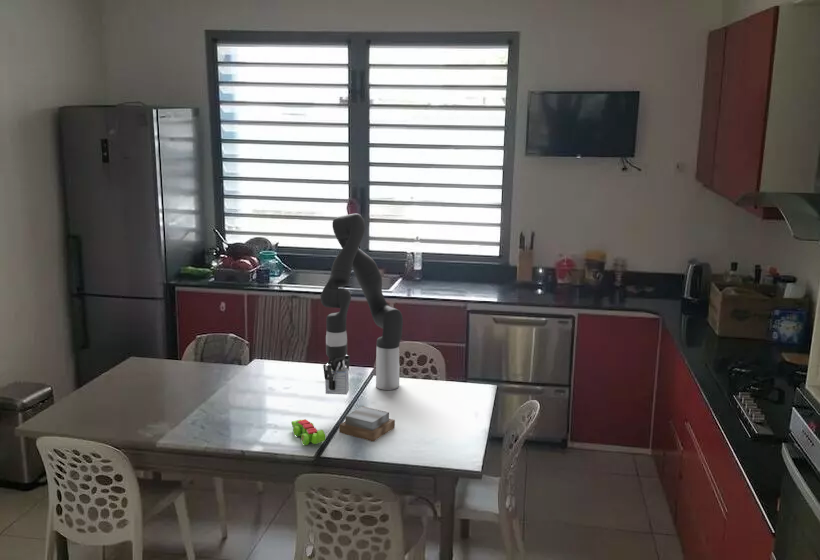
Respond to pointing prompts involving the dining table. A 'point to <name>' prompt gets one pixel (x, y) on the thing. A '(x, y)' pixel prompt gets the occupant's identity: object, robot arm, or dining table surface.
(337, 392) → the medicine box
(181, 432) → the dining table surface
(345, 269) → the robot arm
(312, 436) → the toy crocodile
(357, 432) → the brown gray stepped block
